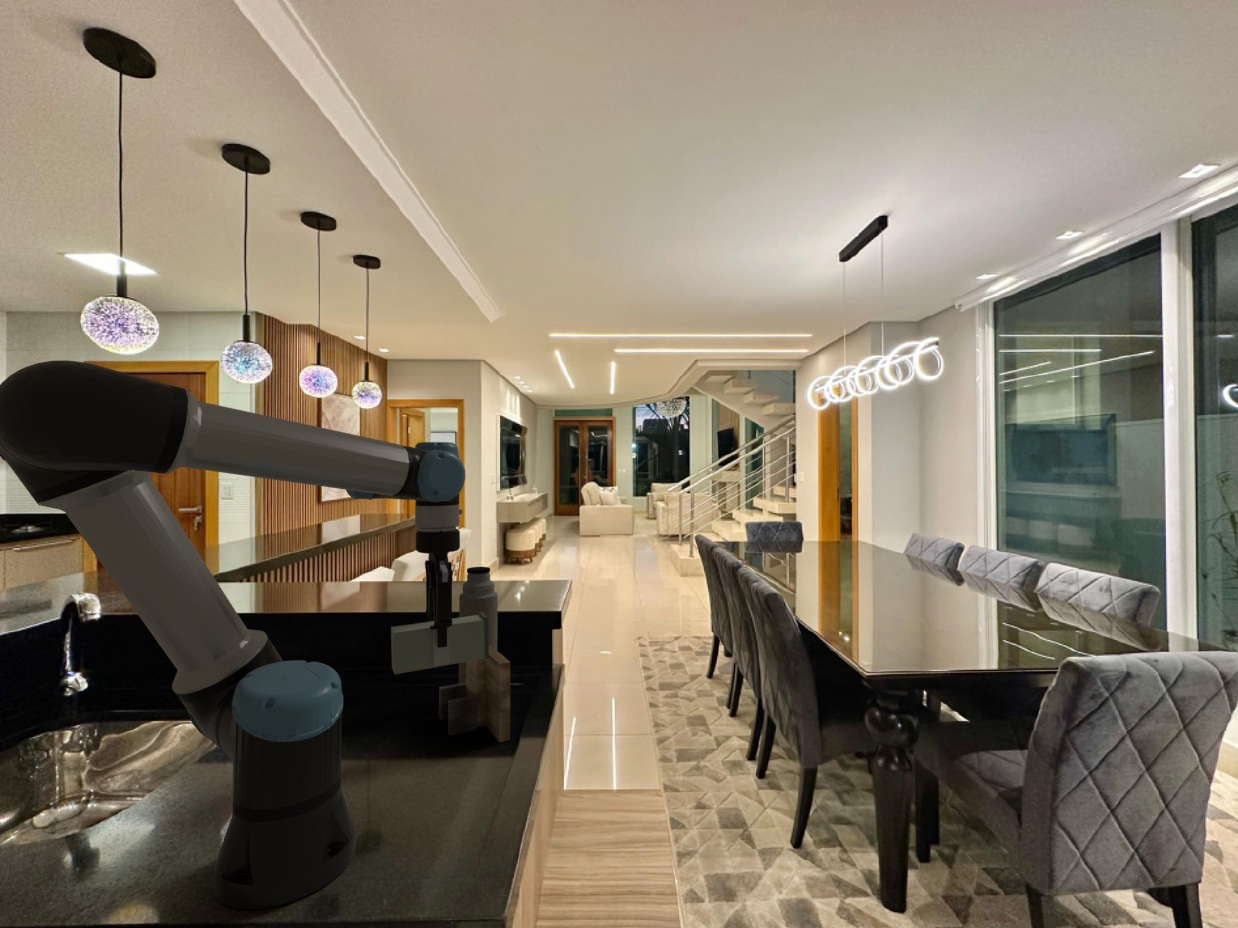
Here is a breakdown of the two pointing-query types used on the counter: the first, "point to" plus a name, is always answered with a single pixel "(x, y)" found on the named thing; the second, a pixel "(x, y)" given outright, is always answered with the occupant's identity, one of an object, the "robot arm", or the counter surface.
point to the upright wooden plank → (479, 698)
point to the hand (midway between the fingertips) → (438, 660)
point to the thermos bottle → (479, 605)
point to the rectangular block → (417, 643)
